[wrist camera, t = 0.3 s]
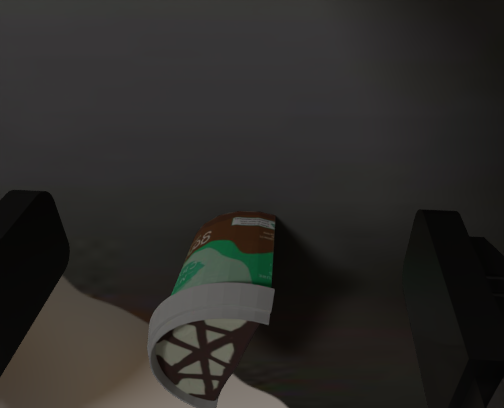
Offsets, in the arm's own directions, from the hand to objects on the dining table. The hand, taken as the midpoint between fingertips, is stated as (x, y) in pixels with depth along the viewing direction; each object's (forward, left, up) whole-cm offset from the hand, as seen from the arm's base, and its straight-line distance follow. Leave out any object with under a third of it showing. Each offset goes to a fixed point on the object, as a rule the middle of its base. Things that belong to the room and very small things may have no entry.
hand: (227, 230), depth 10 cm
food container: (+18, -2, -18) cm, 26 cm away
